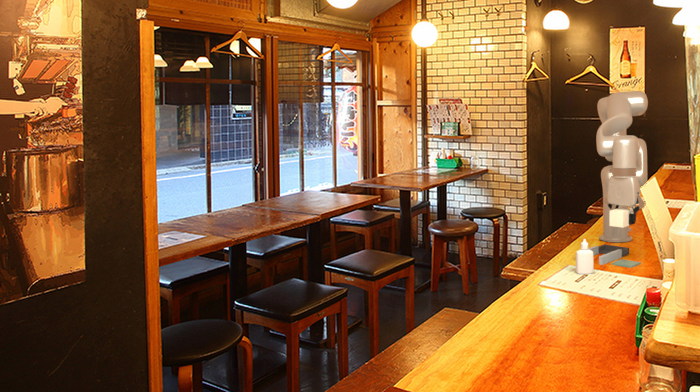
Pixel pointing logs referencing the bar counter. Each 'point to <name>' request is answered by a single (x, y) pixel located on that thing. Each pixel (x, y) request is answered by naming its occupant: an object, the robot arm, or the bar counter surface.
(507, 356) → the bar counter surface
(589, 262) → the eye dropper bottle
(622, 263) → the green coaster
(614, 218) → the cream block
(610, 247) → the tray
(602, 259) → the channel
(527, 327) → the bar counter surface
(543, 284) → the bar counter surface
